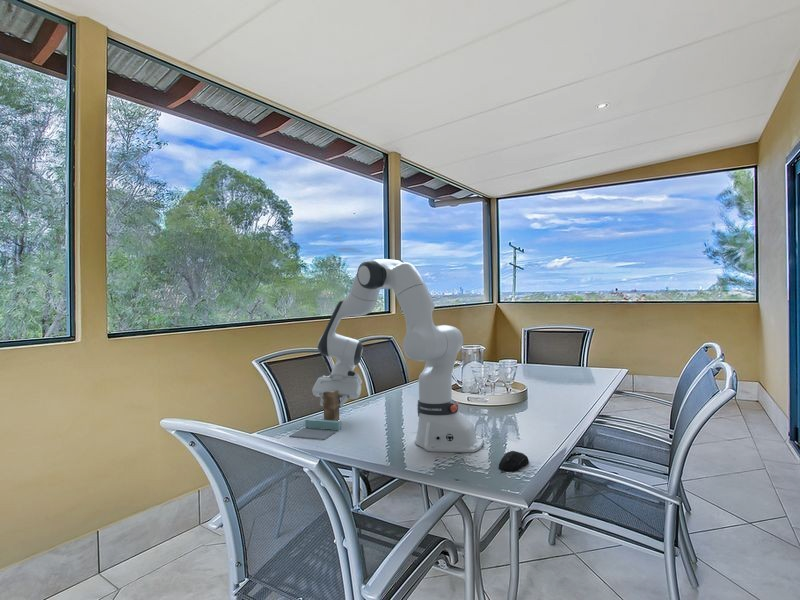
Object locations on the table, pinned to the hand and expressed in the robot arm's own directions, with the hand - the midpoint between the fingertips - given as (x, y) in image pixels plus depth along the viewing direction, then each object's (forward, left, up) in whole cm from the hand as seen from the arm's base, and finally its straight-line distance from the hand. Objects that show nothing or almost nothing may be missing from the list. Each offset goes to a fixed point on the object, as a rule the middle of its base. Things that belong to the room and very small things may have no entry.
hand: (330, 405), depth 178 cm
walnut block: (0, -1, -6) cm, 6 cm away
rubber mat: (-1, +16, -6) cm, 17 cm away
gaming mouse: (-72, +27, -7) cm, 77 cm away
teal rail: (-1, +8, -6) cm, 11 cm away
